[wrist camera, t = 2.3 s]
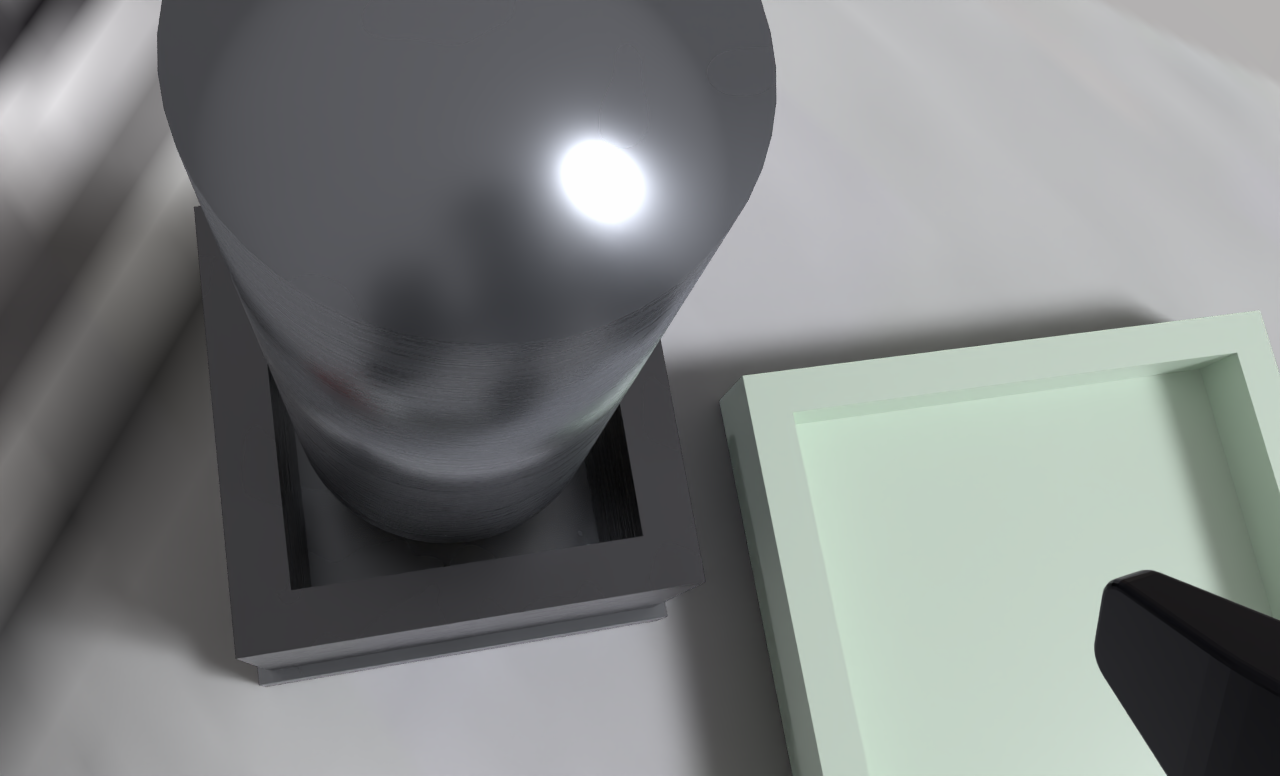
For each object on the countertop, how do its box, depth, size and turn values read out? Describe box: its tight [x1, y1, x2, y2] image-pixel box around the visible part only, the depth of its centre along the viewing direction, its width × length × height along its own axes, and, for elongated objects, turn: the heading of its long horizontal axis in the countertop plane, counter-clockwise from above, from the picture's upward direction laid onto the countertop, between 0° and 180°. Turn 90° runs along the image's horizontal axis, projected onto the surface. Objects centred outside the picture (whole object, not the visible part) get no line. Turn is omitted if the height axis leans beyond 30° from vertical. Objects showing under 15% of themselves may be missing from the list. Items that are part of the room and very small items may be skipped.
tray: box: [719, 310, 1280, 776], centre depth 23 cm, size 11×11×2 cm
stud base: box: [257, 428, 667, 687], centre depth 20 cm, size 7×7×4 cm
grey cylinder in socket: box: [157, 0, 776, 671], centre depth 15 cm, size 7×7×14 cm
